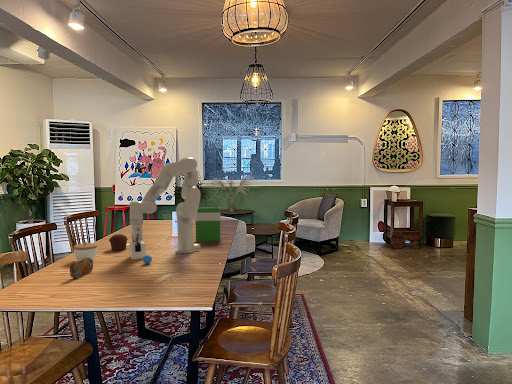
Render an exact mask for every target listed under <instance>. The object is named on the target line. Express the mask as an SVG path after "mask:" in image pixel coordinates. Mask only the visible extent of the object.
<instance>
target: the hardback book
mask: <svg viewBox="0 0 512 384" xmlns="http://www.w3.org/2000/svg"><path fill="white" fill-rule="evenodd" d="M221 229H222V227H221V207H220V206H216V207H215V206H214V207H213V206H211V207H208V206H206V207H205V206H203V207H199V206H198V211H197V214H196V216H195V242H221V240H220V239H221V238H222V237H221V233H222V232H221Z"/></svg>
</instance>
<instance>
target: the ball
mask: <svg viewBox="0 0 512 384" xmlns="http://www.w3.org/2000/svg"><path fill="white" fill-rule="evenodd" d="M142 262H143V263H144V264H146V265H148V264H151V263H152V262H153V258H152V256H151V255H150V254H146V255H145V256H144V257H143V258H142Z"/></svg>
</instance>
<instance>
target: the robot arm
mask: <svg viewBox="0 0 512 384" xmlns="http://www.w3.org/2000/svg"><path fill="white" fill-rule="evenodd" d="M197 167H198V162H197V160H196V159H195V158H193V157H183V158H181V159H180V160H179V161H178V160H177V161H173V162H167V163H165V164H164V165H163V166H162V168H161V169H160V172H159V174H158V176H156V178H155V181H154V182H153V184H152V185H151V187H149V189H148V191H147V192H146V193H145V195H144V196H143V198H142V201H138V200H133V201H130V202H129V225H130V226H131V240H132V241H131V242H135V243H136V245H135V252H141V241H144V238H143V226H142V225H144V214H153V213H155V212H156V211H157V209H158V206H157V204H156V201H157V199H158V198H159V197H160V196H161V195H162V194H163V193H165V192H166V191H167V190H168V188H169V186H170V184H171V183H172V180H173V178H174V177H178V176H179V177H180V176H184V179H183V185H182V189H181V193H180V194H181V198H182V199H184V201H183V202H182V201H181V202H180V203H178V205H177V206H176V208H175V209H176V210H175V215H176V221H177V224H176V225H177V230H176V231H177V248H176V249H175V250H174V251H175V253H177V254H190V253H194V252H196V248H200V247H201V244H197V243H194V238H193V236H194V233H193V229H194V228H193V219H194V217H195V216H196V214H197V211H198V208H199V206H200V201H201V196H202V195H201V190H200V189H199V188H198V187H197V186H198V180H199V174H198V170H197ZM195 218H196V217H195Z"/></svg>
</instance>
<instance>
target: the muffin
mask: <svg viewBox="0 0 512 384" xmlns="http://www.w3.org/2000/svg"><path fill="white" fill-rule="evenodd" d="M108 241H109V242H110V247H111V251H113V252H122V251H126V249H127V243H128V237H127V236H126V235H124V234H122V233H120V234H119V233H118V234H114V235H112V236H110V237H109V240H108Z"/></svg>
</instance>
